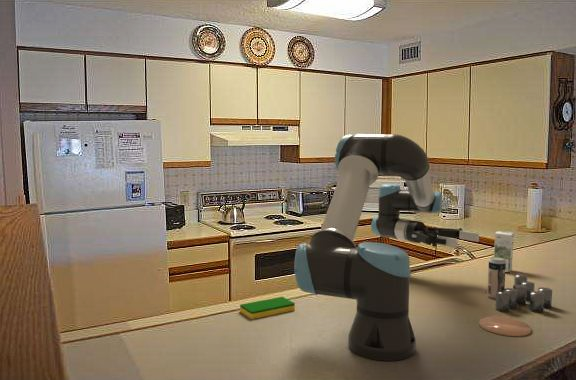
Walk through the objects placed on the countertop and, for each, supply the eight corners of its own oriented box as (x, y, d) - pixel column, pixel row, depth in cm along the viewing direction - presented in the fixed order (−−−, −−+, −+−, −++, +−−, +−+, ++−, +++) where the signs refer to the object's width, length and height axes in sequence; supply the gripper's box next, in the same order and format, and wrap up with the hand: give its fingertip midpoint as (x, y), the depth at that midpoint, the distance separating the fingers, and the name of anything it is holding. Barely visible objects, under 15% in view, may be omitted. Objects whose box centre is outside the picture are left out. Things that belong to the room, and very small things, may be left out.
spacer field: (477, 305, 140) (478, 288, 140) (517, 288, 157) (517, 273, 157) (530, 319, 130) (531, 301, 129) (566, 299, 146) (567, 283, 146)
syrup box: (512, 270, 180) (514, 231, 179) (509, 273, 175) (511, 234, 174) (495, 268, 183) (497, 230, 182) (493, 271, 178) (494, 232, 177)
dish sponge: (239, 312, 135) (239, 304, 134) (282, 304, 142) (282, 296, 142) (251, 320, 129) (251, 311, 128) (295, 311, 136) (295, 303, 136)
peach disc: (504, 339, 116) (504, 336, 116) (469, 321, 127) (469, 319, 127) (542, 332, 120) (542, 330, 120) (505, 316, 131) (505, 314, 131)
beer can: (502, 300, 145) (504, 261, 144) (485, 298, 147) (487, 259, 146) (505, 296, 149) (507, 258, 148) (488, 294, 151) (490, 256, 150)
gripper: (430, 236, 179) (486, 246, 163) (388, 246, 162) (446, 258, 147) (431, 216, 178) (487, 224, 162) (389, 224, 162) (447, 233, 146)
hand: (467, 240), depth 154 cm, fingers open, 13 cm apart
